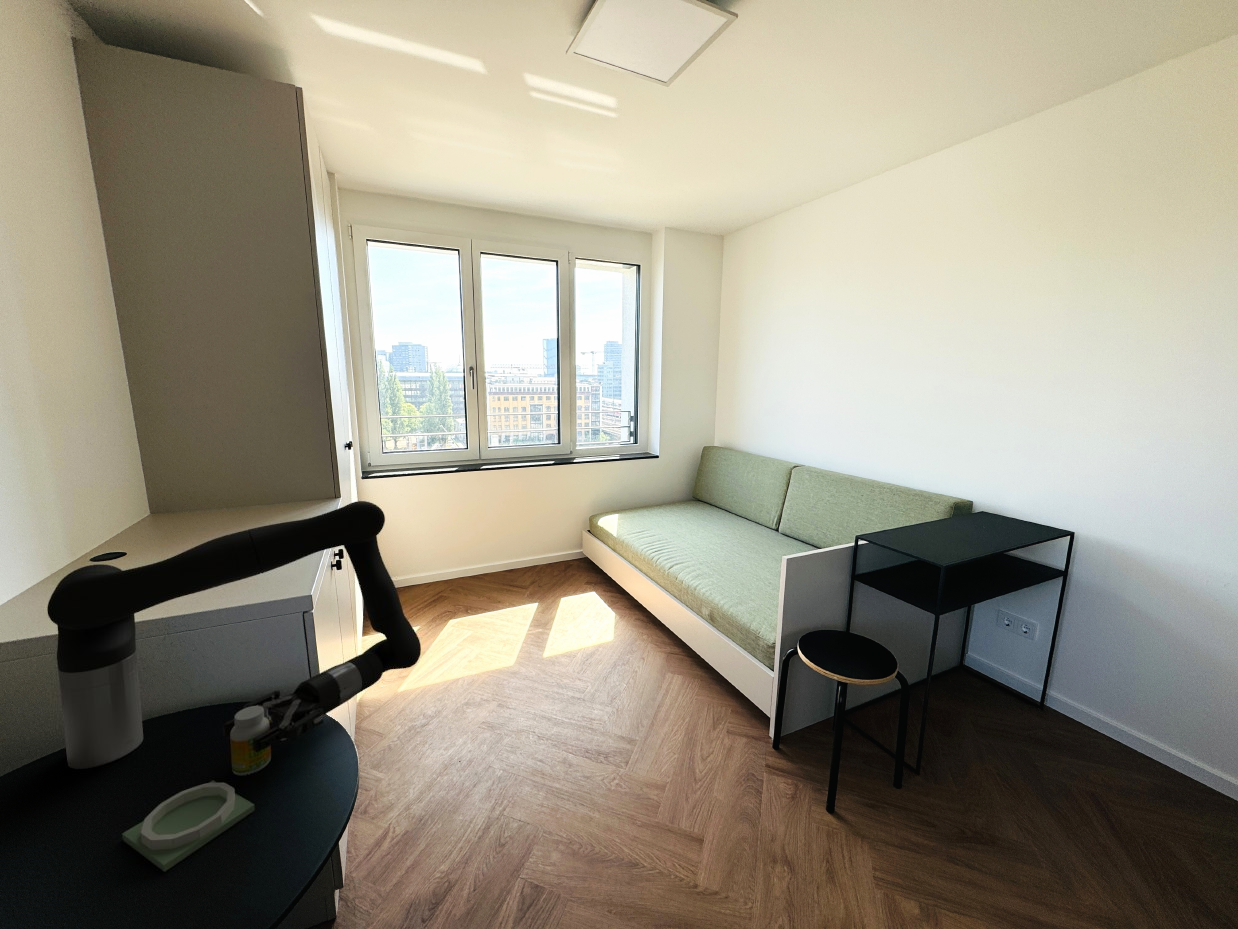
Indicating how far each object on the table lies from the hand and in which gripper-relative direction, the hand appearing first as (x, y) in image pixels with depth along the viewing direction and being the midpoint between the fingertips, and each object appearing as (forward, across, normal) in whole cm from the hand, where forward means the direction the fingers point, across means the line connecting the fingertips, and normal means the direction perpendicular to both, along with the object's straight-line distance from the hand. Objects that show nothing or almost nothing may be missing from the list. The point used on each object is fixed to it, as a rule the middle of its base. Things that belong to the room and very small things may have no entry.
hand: (238, 739), depth 81 cm
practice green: (+9, +5, +6) cm, 12 cm away
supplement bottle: (-2, 0, +6) cm, 6 cm away
